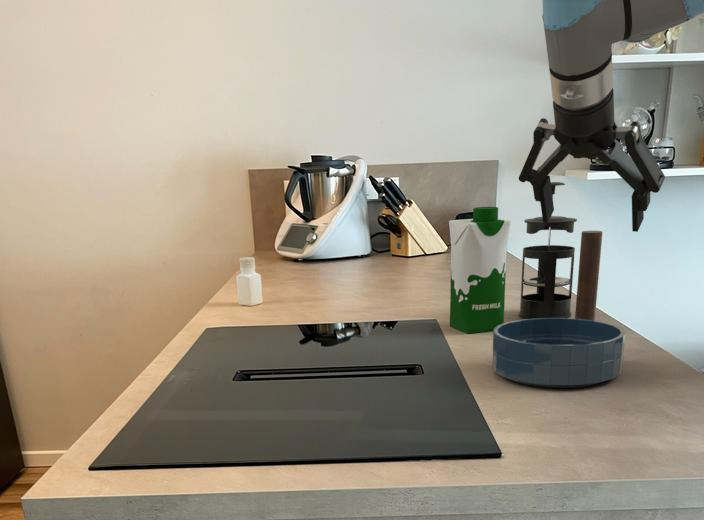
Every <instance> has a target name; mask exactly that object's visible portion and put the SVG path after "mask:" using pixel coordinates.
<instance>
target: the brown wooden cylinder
mask: <svg viewBox="0 0 704 520" xmlns="http://www.w3.org/2000/svg"><path fill="white" fill-rule="evenodd" d="M580 234H581V235H580V236H581V237H580V246H579V247H580V248H579V261H578V262H579V263H578V274H577V287H576V300H575V302H576V303H575V313H574V318H578V319H588V320H595V321H596V310H597V300H598V287H599V279H600V278H599V276H600V267H601V266H600V264H601V253H602V243H603V231H602V230H582V231H581V233H580Z"/></svg>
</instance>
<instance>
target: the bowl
mask: <svg viewBox="0 0 704 520" xmlns="http://www.w3.org/2000/svg"><path fill="white" fill-rule="evenodd" d="M626 334H627V333H626V331H625V329H624V328H622V327H620V326H618V325H616V324H613V323H610V322H605V321H600V320H596V319H595V320H588V319H578V318H575V317H569V318H531V319H524V318H522V319H516V320H512V321H507V322H504V323H503V324H501V325H498V326H497V327H496V328H494V331H493V334H492V335H493V336H492V337H493V338H492V341H493V342H492V363H491V369H492V371H493V372H495V374H497V375H499V376H501V377H503V378H505V379H509V380H510V381H513V382H516V383H518V384H522V385H527V386H531V387H532V386H533V387H539V388H551V389H571V388H572V389H573V388H582V387H583V388H584V387H588V386H589V387H590V386H595V385H597V384H600V383H603V382H605V381H606V382H607V381H611V380H613V379H614V378H616V377H619V376H620V374H621V373H622V372H623V364H624V363H623V362H624V352H625V344H626V343H625V342H626Z"/></svg>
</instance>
